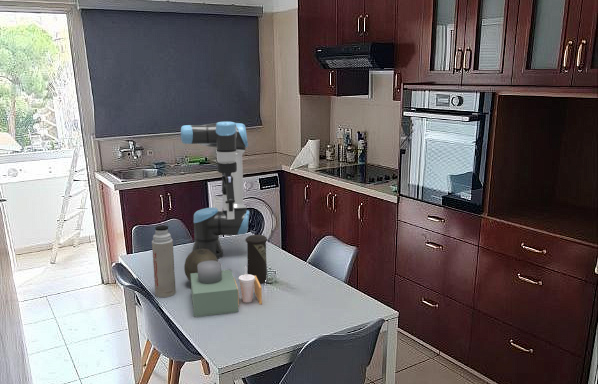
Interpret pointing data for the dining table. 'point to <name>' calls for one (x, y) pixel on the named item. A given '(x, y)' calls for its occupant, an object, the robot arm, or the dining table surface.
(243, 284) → the smoothie
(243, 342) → the dining table surface
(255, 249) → the container
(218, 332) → the dining table surface
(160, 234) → the thermos bottle
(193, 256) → the cantaloupe
